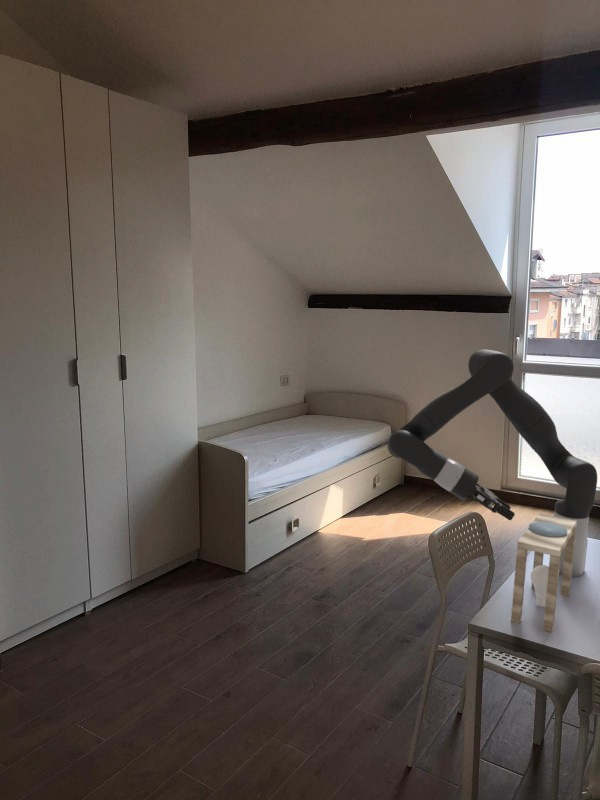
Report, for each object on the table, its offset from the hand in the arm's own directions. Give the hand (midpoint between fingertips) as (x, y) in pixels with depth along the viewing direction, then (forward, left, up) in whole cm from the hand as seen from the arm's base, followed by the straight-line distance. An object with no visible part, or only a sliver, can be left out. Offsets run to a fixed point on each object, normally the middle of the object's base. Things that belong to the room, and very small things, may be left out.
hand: (510, 513), depth 166 cm
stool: (-5, +8, -23) cm, 25 cm away
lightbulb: (-5, +8, -24) cm, 25 cm away
